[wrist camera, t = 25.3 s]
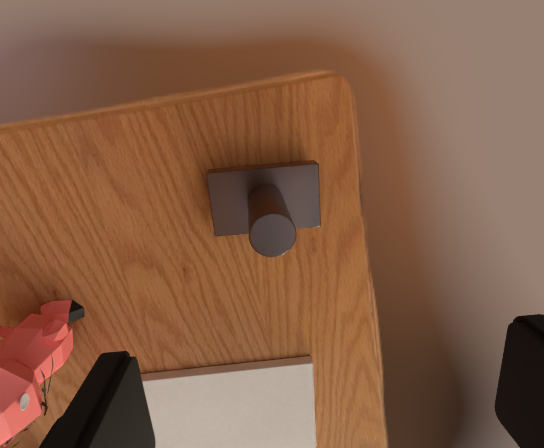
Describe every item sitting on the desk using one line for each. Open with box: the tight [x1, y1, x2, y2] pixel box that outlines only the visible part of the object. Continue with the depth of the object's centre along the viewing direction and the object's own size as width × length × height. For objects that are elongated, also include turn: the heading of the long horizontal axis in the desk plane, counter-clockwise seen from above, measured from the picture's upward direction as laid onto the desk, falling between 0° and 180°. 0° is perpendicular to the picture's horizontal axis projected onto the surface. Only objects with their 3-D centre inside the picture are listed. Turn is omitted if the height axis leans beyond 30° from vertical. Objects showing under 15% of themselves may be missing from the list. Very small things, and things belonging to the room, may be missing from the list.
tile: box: [141, 356, 316, 448], centre depth 34 cm, size 18×16×1 cm
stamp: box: [206, 160, 321, 257], centre depth 22 cm, size 8×4×10 cm, turn 94°
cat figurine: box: [0, 300, 84, 447], centre depth 23 cm, size 7×7×12 cm
